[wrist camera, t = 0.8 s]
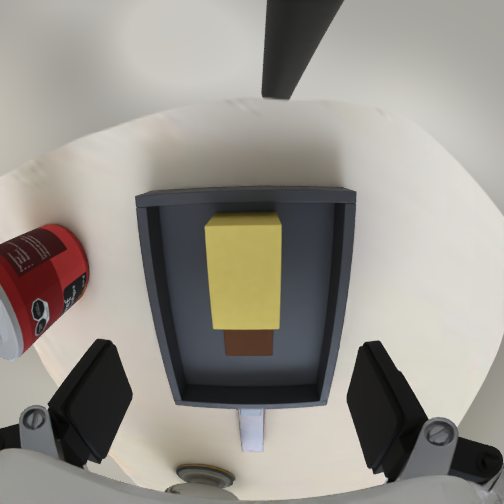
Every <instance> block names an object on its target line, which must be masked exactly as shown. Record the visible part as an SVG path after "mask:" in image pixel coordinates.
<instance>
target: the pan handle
mask: <svg viewBox="0 0 504 504" xmlns="http://www.w3.org/2000/svg"><path fill="white" fill-rule="evenodd" d="M238 414H239V425H240V435H241V445H242V451H249V452H261V451H263V431H264V409H238Z"/></svg>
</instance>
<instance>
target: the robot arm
mask: <svg viewBox="0 0 504 504" xmlns="http://www.w3.org/2000/svg"><path fill="white" fill-rule="evenodd" d="M132 397H133V393H132V389H131V387H130V384H129V382H128V379H127V377H126V374H125V371H124V368H123V366H122V363H121V360H120V357H119V354H118V351H117V348H116V346H115V345H114V344H113V343H112V342H111V341H110V340H105V339H96V340H95V342H94V343H93V344H92V345H91V347H90V348H89V349H88V350H87V352H86V353H85V354H84V355H83V357H82V358H81V359H80V361H79V362H78V363H77V365H76V366H75V367H74V368H73V370H72V371H71V372H70V374H69V375H68V376H67V378H66V379H65V380H64V382H63V383H62V385H61V386H60V387H59V389H58V390H57V391H56V393H55V394H54V396H53V397H52V398H51V400H50V401H49V403H48V406H49V408H48V410H47V409H46V408H45V407H43V406H40V405H33V406H30V407H28V408H26V409H25V410H24V411H23V412H22V413H21V416H20V418H19V424H16V425H12V426H8V427H5V428H1V429H0V504H504V463H503V457H502V454H501V453H500V451H499V450H498V449H497V448H495V447H493V446H489V445H485V444H482V443H478V442H475V441H471V440H468V439H465V438H461V437H458V429H457V427H456V425H455V424H454V423H453V422H452V421H450V420H449V419H446V418H443V417H435V418H432V419H428V417H427V415H426V414H425V412H424V410H423V408H422V406H421V405H420V403H419V401H418V399H417V398H416V396H415V394H414V392H413V391H412V389H411V387H410V386H409V384H408V382H407V380H406V379H405V377H404V375H403V374H402V373H401V371H399V370H397V368H396V366H395V365H394V363H393V361H392V360H391V358H390V356H389V355H388V353H387V351H386V350H385V348H384V347H383V345H382V343H381V342H380V341H370V342H365V343H364V344H363V346H360V347H359V350H358V354H357V358H356V363H355V367H354V371H353V374H352V378H351V382H350V386H349V389H348V393H347V404H348V407H349V410H350V413H351V416H352V419H353V422H354V425H355V429H356V432H357V435H358V438H359V441H360V445H361V448H362V451H363V454H364V458H365V461H366V465H367V467H368V468H369V469H371V468H372V470H373V474H378V473H381V472H384V474H385V477H386V480H385V482H384V484H383V485H378V486H374V487H370V488H366V489H361V490H356V491H351V492H346V493H340V494H333V495H327V496H320V497H312V498H302V499H290V500H270V501H242V500H221V499H209V498H200V497H192V496H184V495H178V494H172V493H167V492H161V491H156V490H152V489H147V488H143V487H139V486H135V485H131V484H127V483H124V482H120V481H117V480H113V479H110V478H107V477H104V476H101V475H98V474H95V473H92V472H90V471H89V470H88V467H87V465H86V463H87V460H89V461H92V462H95V463H98V464H100V463H101V461H102V459H104V458H105V457H106V456H107V454H108V452H109V449H110V447H111V445H112V442H113V440H114V438H115V436H116V433H117V431H118V429H119V426H120V424H121V422H122V420H123V418H124V415H125V413H126V411H127V409H128V407H129V405H130V402H131V400H132Z"/></svg>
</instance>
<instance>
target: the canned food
mask: <svg viewBox="0 0 504 504" xmlns="http://www.w3.org/2000/svg"><path fill="white" fill-rule="evenodd" d="M88 280H89V266H88V261H87V258H86V255H85V252H84V250H83V248H82V245H81V244H80V242H79V241H78V239H77V238H76V237H75V235H74V234H73V233H72V232H71V231H69V230H68V229H67V228H65V227H63V226H60V225H54V224H48V225H44V226H42V227H39V228H37V229H34V230H32V231H29V232H27V233H25V234H22V235H20V236H18V237H15V238H13V239H11V240H9V241H6V242H4V243H2V244H0V357H1V358H3V359H5V360H7V361H15V360H16V359H17V358H19V357H20V356H21V355H22V354H23V353H24V352H25V351H26V350H27V349H28V348H29V347H30V346H31V345H32V344H33V343H34V342H35V341H36V340H37V339H38V338H39V337H40V336H41V335H42V334H43V333H44V332H45V331H46V330H47V329H48V328H49V327H50V326H51V325H52V324H53V323H54V322H55V321H56V320H57V319H59V318H60V317H61V316H62V315H63V314H64V313H65V312H66V311H67V310H68V309H69V308H70V307H71V306H72V305H73V304H75V303H76V302H77V301H78V300H79V299H80V298H81V297H82V295H83V293H84V292H85V289H86V287H87V284H88Z"/></svg>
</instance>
